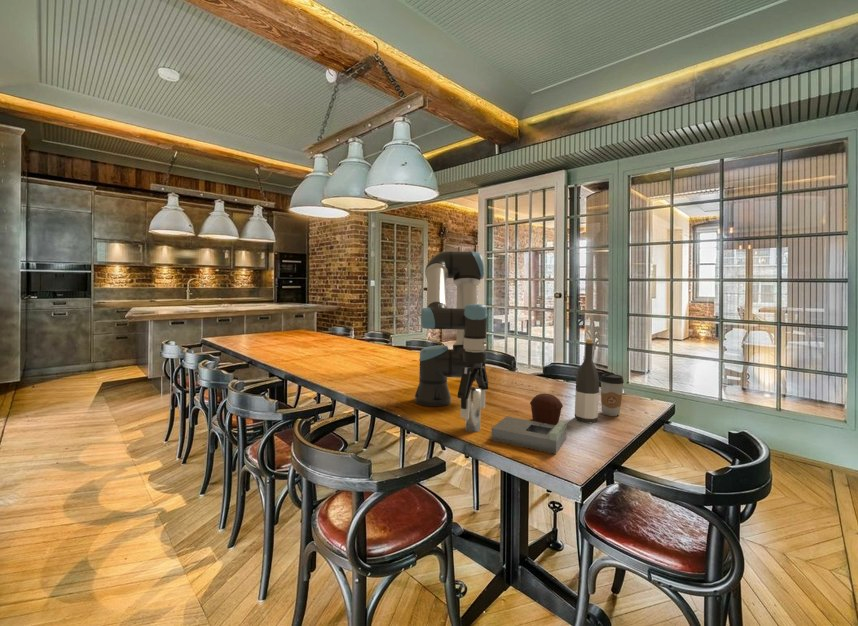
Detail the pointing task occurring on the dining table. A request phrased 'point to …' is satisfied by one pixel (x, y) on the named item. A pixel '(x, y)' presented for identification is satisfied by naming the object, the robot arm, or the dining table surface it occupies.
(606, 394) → the coffee cup
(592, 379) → the wine bottle
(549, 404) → the muffin
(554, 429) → the jig
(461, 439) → the dining table surface
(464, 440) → the dining table surface
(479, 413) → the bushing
